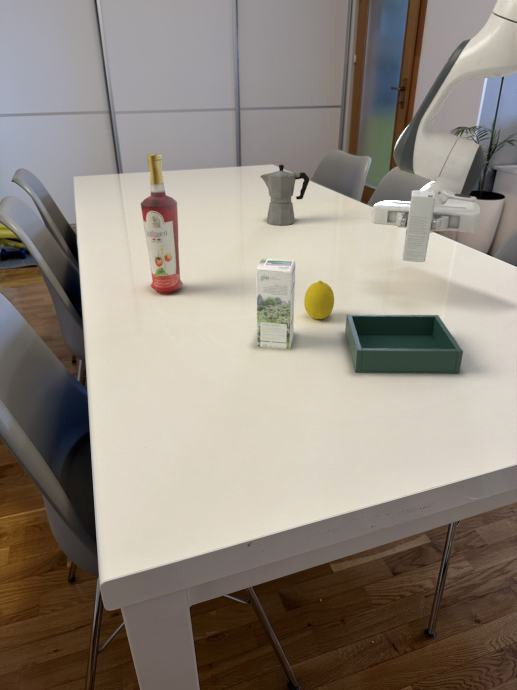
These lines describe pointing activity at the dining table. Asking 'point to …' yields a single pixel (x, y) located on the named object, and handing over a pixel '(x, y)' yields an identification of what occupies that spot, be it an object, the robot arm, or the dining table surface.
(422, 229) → the cosmetic box
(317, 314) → the lemon
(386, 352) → the bin
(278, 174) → the coffeepot
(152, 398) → the dining table surface
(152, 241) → the liquor
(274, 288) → the syrup box
